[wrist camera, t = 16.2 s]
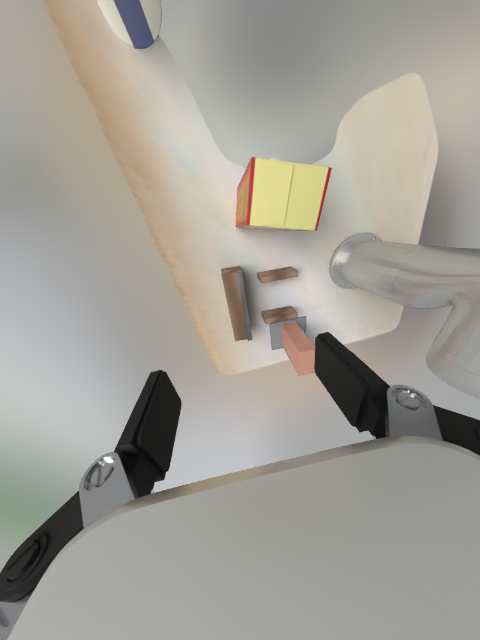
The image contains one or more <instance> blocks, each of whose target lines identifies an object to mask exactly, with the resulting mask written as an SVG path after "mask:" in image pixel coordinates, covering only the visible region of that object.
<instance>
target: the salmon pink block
mask: <svg viewBox="0 0 480 640" xmlns="http://www.w3.org/2000/svg"><path fill="white" fill-rule="evenodd" d="M282 346H283V348H284V350H285V351H286V353H287V355H288V357H289V359H290V360H291V362H292V364H293V365H294V368H295V369H296V371H297V373H298V375H305V374H311V373H315V370H314V363H315V345H314V344H313V342H312V341H311V340H310V339H309V338H308V336H307V335H306V334H305V333H304V332H303V330H302V329H301V328H300V327H299V326H298V324H297V323H296V322H294V323H289V324H283V325H282Z"/></svg>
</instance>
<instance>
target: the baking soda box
mask: <svg viewBox="0 0 480 640" xmlns="http://www.w3.org/2000/svg"><path fill="white" fill-rule="evenodd" d="M331 169H332V168H330V167H322V166H315V165H307V164H299V163H292V162H284V161H276V160H269V159H261V158H254V157H252V158H251V160H250V162H249V164H248V166H247V169H246V171H245V173H244V175H243V177H242V179H241V181H240V184H239V186H238V191H237V211H236V227H246V228H259V229H272V230H303V231H317V227H318V223H319V219H320V215H321V210H322V206H323V202H324V198H325V194H326V190H327V185H328V181H329V177H330V173H331Z"/></svg>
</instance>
